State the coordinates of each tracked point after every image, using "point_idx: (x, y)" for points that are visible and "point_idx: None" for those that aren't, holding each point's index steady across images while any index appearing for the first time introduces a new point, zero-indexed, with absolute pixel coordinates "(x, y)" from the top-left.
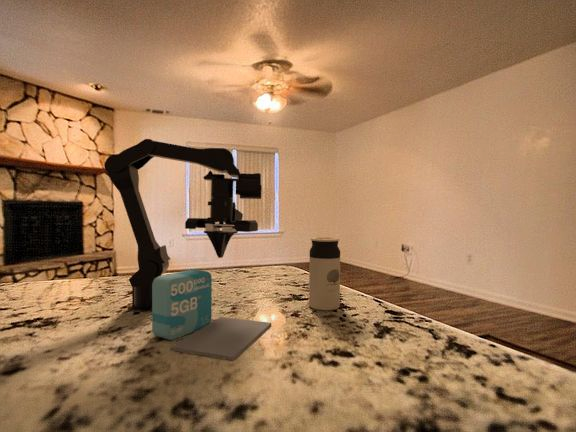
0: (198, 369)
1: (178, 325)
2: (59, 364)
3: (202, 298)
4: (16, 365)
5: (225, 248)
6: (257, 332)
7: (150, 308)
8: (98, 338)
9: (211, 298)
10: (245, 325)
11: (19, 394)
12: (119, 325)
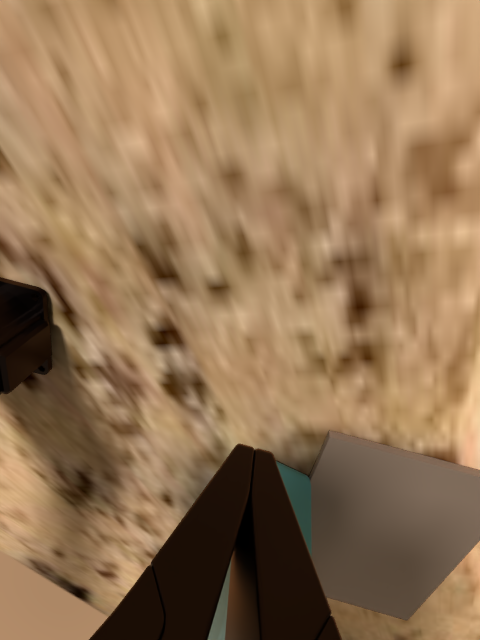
0: (346, 623)
1: None
2: (119, 587)
3: None
4: (65, 583)
5: (305, 568)
6: (466, 542)
7: (45, 363)
8: (89, 520)
9: (311, 550)
10: (428, 502)
11: None
12: (67, 463)
